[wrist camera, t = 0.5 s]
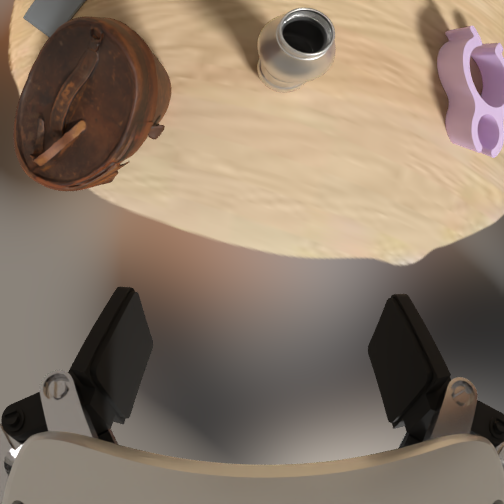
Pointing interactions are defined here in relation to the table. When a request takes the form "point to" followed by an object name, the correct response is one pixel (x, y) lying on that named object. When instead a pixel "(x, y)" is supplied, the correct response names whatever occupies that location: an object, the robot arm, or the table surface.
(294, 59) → the plastic bottle
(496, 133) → the clip
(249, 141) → the table surface
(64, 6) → the mat
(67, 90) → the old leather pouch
